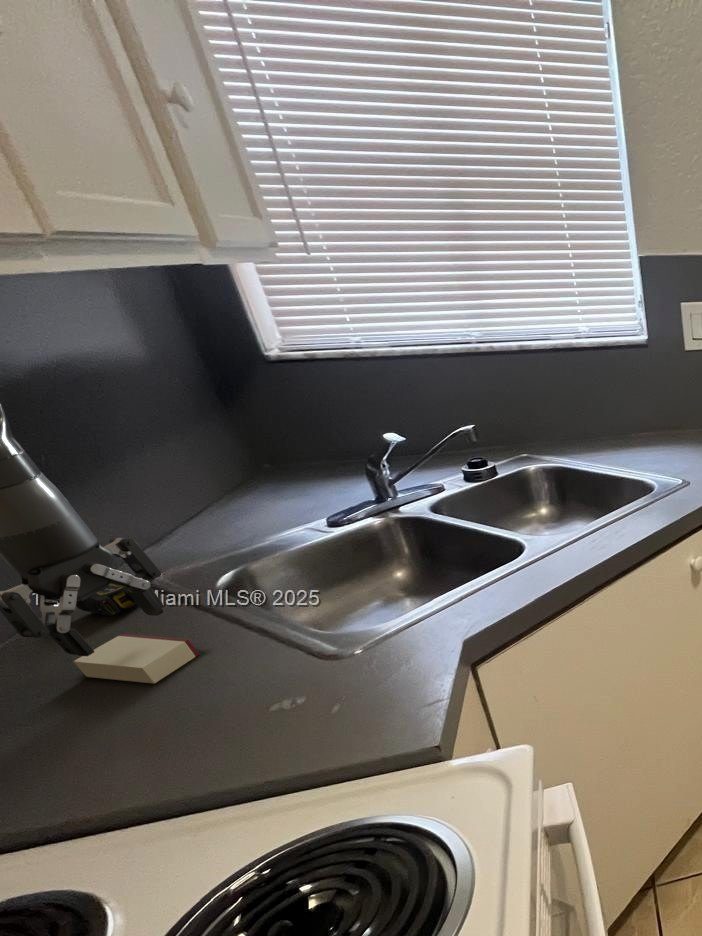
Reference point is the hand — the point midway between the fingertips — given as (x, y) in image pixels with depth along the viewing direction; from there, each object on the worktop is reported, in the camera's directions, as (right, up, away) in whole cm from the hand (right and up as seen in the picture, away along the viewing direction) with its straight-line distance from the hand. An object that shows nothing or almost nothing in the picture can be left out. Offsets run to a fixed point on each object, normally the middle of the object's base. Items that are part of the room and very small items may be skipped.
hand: (122, 633), depth 80 cm
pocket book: (0, -4, +3) cm, 5 cm away
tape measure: (-17, +3, +15) cm, 23 cm away
